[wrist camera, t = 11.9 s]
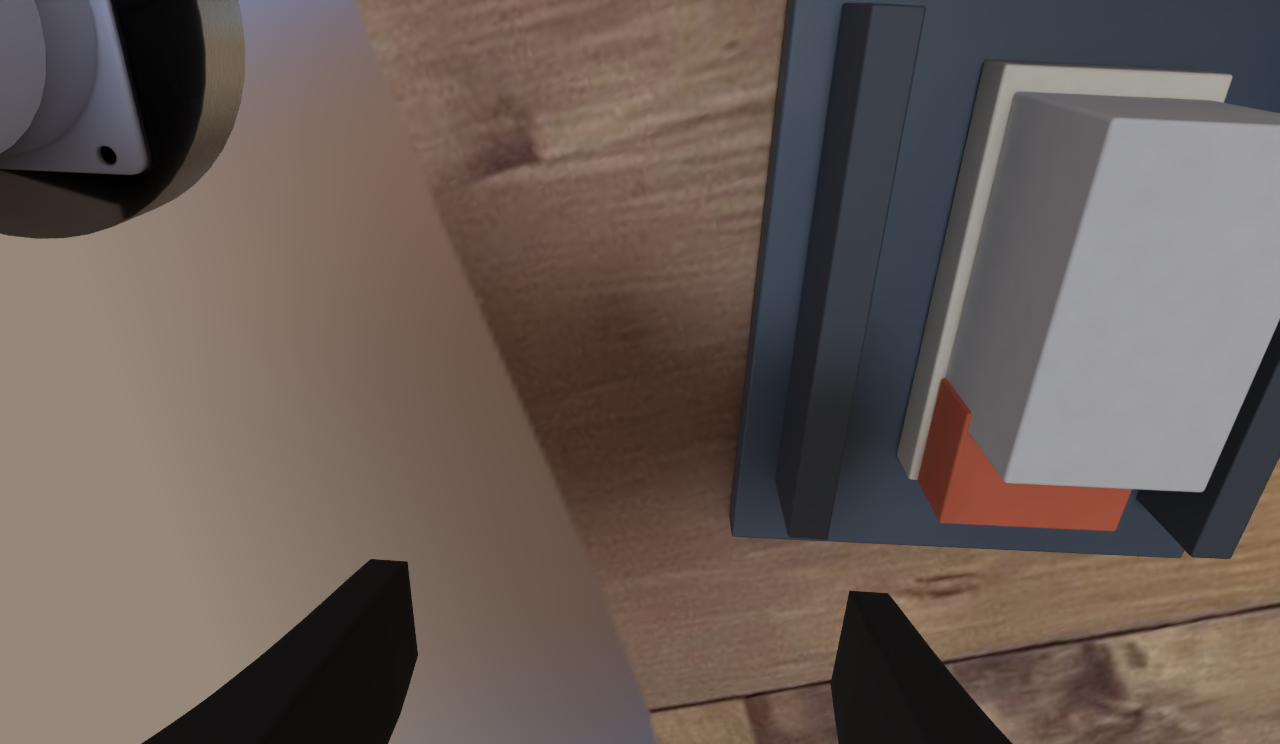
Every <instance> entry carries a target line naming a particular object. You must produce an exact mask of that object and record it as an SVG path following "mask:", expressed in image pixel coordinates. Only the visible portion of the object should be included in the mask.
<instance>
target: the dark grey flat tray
mask: <svg viewBox="0 0 1280 744" xmlns="http://www.w3.org/2000/svg"><path fill="white" fill-rule="evenodd" d="M987 60H1003V61H1025V62H1047V63H1069V64H1090V65H1112V66H1134V67H1156V68H1178V69H1198V70H1205V71H1213V72H1220V73H1227V74H1230V75H1232V81H1231V84H1230V86H1229V89H1228V92H1227V95H1226V98H1225V100H1224V103H1227V104H1233V105H1238V106H1243V107H1249V108H1254V109H1259V110H1265V111H1270V112H1275V113H1280V0H788V3H787V12H786V20H785V29H784V38H783V47H782V56H781V65H780V73H779V82H778V91H777V100H776V109H775V118H774V126H773V135H772V144H771V153H770V162H769V171H768V179H767V188H766V197H765V206H764V215H763V224H762V232H761V241H760V250H759V259H758V268H757V277H756V285H755V294H754V303H753V312H752V321H751V330H750V338H749V347H748V356H747V365H746V374H745V383H744V391H743V400H742V409H741V418H740V427H739V436H738V444H737V453H736V462H735V471H734V480H733V489H732V497H731V506H730V515H729V517H730V524H731V532H732V536H734V537H751V538H772V539H793V540H813V541H834V542H855V543H876V544H897V545H917V546H938V547H959V548H980V549H1001V550H1021V551H1042V552H1063V553H1084V554H1105V555H1125V556H1146V557H1167V558H1181V557H1182V554H1183V552H1184V550H1185V551H1186V552H1187V553H1188V554H1189V555H1190V556H1191V557H1198V558H1219V559H1230V558H1231V557H1232V555H1233V553H1234V551H1235V549H1236V546H1237V544H1238V542H1239V540H1240V538H1241V536H1242V534H1243V532H1244V530H1245V528H1246V526H1247V524H1248V522H1249V519H1250V517H1251V515H1252V513H1253V511H1254V509H1255V507H1256V505H1257V503H1258V501H1259V499H1260V497H1261V495H1262V492H1263V490H1264V488H1265V486H1266V484H1267V482H1268V480H1269V478H1270V476H1271V474H1272V472H1273V470H1274V468H1275V465H1276V463H1277V461H1278V459H1279V457H1280V320H1279V322H1278V324H1277V327H1276V329H1275V331H1274V333H1273V336H1272V338H1271V340H1270V343H1269V345H1268V347H1267V349H1266V352H1265V354H1264V356H1263V358H1262V361H1261V363H1260V365H1259V368H1258V370H1257V372H1256V374H1255V377H1254V379H1253V381H1252V383H1251V386H1250V388H1249V390H1248V393H1247V395H1246V397H1245V399H1244V402H1243V404H1242V406H1241V408H1240V411H1239V413H1238V415H1237V418H1236V420H1235V422H1234V424H1233V427H1232V429H1231V431H1230V433H1229V436H1228V438H1227V440H1226V443H1225V445H1224V447H1223V449H1222V452H1221V454H1220V456H1219V458H1218V461H1217V463H1216V465H1215V468H1214V470H1213V472H1212V474H1211V477H1210V479H1209V481H1208V483H1207V486H1206V488H1205V490H1204V491H1203V492H1182V491H1161V490H1140V489H1132V491H1131V493H1130V496H1129V498H1128V501H1127V504H1126V506H1125V509H1124V511H1123V514H1122V516H1121V519H1120V522H1119V524H1118V527H1117V529H1116V530H1115V531H1096V530H1075V529H1055V528H1034V527H1013V526H992V525H971V524H950V523H940V522H939V521H938V519H937V517H936V515H935V513H934V511H933V509H932V507H931V506H930V504H929V502H928V500H927V498H926V496H925V494H924V492H923V491H922V489H921V487H920V485H919V483H918V480H911V479H909V478H908V476H907V474H906V472H905V470H904V468H903V466H902V464H901V462H900V461H899V459H898V457H897V452H898V448H899V443H900V439H901V434H902V430H903V425H904V421H905V416H906V412H907V407H908V403H909V398H910V394H911V389H912V385H913V380H914V376H915V371H916V367H917V362H918V358H919V353H920V349H921V344H922V340H923V335H924V331H925V326H926V322H927V317H928V313H929V308H930V303H931V299H932V294H933V290H934V285H935V281H936V276H937V272H938V267H939V263H940V258H941V254H942V249H943V245H944V240H945V236H946V231H947V227H948V222H949V218H950V213H951V209H952V204H953V200H954V195H955V191H956V186H957V182H958V177H959V173H960V168H961V164H962V159H963V155H964V150H965V146H966V141H967V137H968V132H969V128H970V123H971V119H972V114H973V109H974V105H975V100H976V96H977V91H978V87H979V82H980V78H981V73H982V69H983V64H984V62H985V61H987Z"/></svg>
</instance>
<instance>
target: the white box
mask: <svg viewBox="0 0 1280 744" xmlns="http://www.w3.org/2000/svg"><path fill="white" fill-rule="evenodd" d="M1231 81H1232V75H1230V74H1227V73H1220V72H1213V71H1205V70H1198V69H1178V68H1156V67H1134V66H1112V65H1090V64H1069V63H1047V62H1025V61H1003V60H987V61H985V62H984V64H983V69H982V73H981V78H980V82H979V87H978V91H977V96H976V100H975V105H974V109H973V114H972V119H971V123H970V128H969V132H968V137H967V141H966V146H965V150H964V155H963V159H962V164H961V168H960V173H959V177H958V182H957V186H956V191H955V195H954V200H953V204H952V209H951V213H950V218H949V222H948V227H947V231H946V236H945V240H944V245H943V249H942V254H941V258H940V263H939V267H938V272H937V276H936V281H935V285H934V290H933V294H932V299H931V303H930V308H929V313H928V317H927V322H926V326H925V331H924V335H923V340H922V344H921V349H920V353H919V358H918V362H917V367H916V371H915V376H914V380H913V385H912V389H911V394H910V398H909V403H908V407H907V412H906V416H905V421H904V425H903V430H902V434H901V439H900V443H899V448H898V452H897V457H898V459H899V461H900V462H901V464H902V466H903V468H904V470H905V472H906V474H907V476H908V478H909V479H911V480H918V483H919V485H920V487H921V489H922V491H923V492H924V494H925V496H926V498H927V500H928V502H929V504H930V506H931V507H932V509H933V511H934V513H935V515H936V517H937V519H938V521H939V522H940V523H950V524H971V525H992V526H1013V527H1034V528H1055V529H1075V530H1096V531H1115V530H1116V529H1117V527H1118V524H1119V522H1120V519H1121V516H1122V514H1123V511H1124V509H1125V506H1126V504H1127V501H1128V498H1129V496H1130V493H1131V491H1132V489H1140V490H1161V491H1182V492H1203V491H1204V490H1205V488H1206V486H1207V483H1208V481H1209V479H1210V477H1211V474H1212V472H1213V470H1214V468H1215V465H1216V463H1217V461H1218V458H1219V456H1220V454H1221V452H1222V449H1223V447H1224V445H1225V443H1226V440H1227V438H1228V436H1229V433H1230V431H1231V429H1232V427H1233V424H1234V422H1235V420H1236V418H1237V415H1238V413H1239V411H1240V408H1241V406H1242V404H1243V402H1244V399H1245V397H1246V395H1247V393H1248V390H1249V388H1250V386H1251V383H1252V381H1253V379H1254V377H1255V374H1256V372H1257V370H1258V368H1259V365H1260V363H1261V361H1262V358H1263V356H1264V354H1265V352H1266V349H1267V347H1268V345H1269V343H1270V340H1271V338H1272V336H1273V333H1274V331H1275V329H1276V327H1277V324H1278V322H1279V320H1280V113H1275V112H1270V111H1265V110H1259V109H1254V108H1249V107H1243V106H1238V105H1233V104H1227V103H1224V100H1225V98H1226V95H1227V92H1228V89H1229V86H1230V84H1231Z"/></svg>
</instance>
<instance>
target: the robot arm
mask: <svg viewBox="0 0 1280 744" xmlns="http://www.w3.org/2000/svg"><path fill="white" fill-rule="evenodd" d="M106 147H110V148H111V149H112V150H113V151H114V152H115V154H116V162H113V161H112V160H111V159H110V158H109V157H108V155H107V153H106ZM151 162H152V161H151V152H150V148H149V143H148V139H147V135H146V131H145V126H144V122H143V118H142V113H141V109H140V105H139V101H138V96H137V92H136V88H135V84H134V79H133V75H132V71H131V67H130V62H129V58H128V54H127V50H126V45H125V41H124V37H123V33H122V28H121V24H120V20H119V16H118V11H117V7H116V3H115V0H0V169H13V170H35V171H56V172H78V173H99V174H121V175H134V174H139V173H142V172H144V171H146V170H147V169H148V168H149V167H150V165H151ZM417 656H418V652H417V643H416V634H415V626H414V617H413V607H412V599H411V589H410V580H409V571H408V563H407V562H405V561H390V560H375V559H371V560H369V561H368V562H367V563H366V564H365V565H364V566H362V567H361V568H360V569H359V570H358V571H357V572H355V574H353V575H352V576H351V577H350V578H349V579H348V580H347V581H345V582H344V583H343V584H342V585H341V586H340V587H339V588H338V589H337V590H336V591H334V592H333V593H332V594H331V595H330V596H329V597H328V598H327V599H326V600H324V601H323V602H322V604H320V605H319V606H318V607H317V608H316V609H314V610H313V611H312V612H311V613H310V614H309V615H308V616H307V617H306V618H304V619H303V620H302V621H301V622H300V623H299V624H298V625H296V626H295V627H294V628H293V629H292V630H291V631H289V632H288V633H287V634H286V635H285V636H284V637H282V638H281V639H280V640H279V641H278V642H277V643H275V644H274V645H273V646H272V647H271V648H270V649H268V650H267V651H266V652H265V653H264V654H262V655H261V656H260V657H259V658H258V659H256V660H255V661H254V662H253V663H251V664H250V665H249V666H247V667H246V668H245V669H244V670H242V671H241V672H240V673H239V674H237V675H236V676H235V677H234V678H233V679H231V680H230V681H229V682H227V683H226V684H225V685H224V686H222V687H221V688H220V689H219V690H217V691H216V692H215V693H213V694H212V695H211V696H209V697H208V698H207V699H205V700H204V701H203V702H201V703H200V704H199V705H197V706H196V707H194V708H193V709H192V710H190V711H189V712H187V713H186V714H185V715H183V716H182V717H180V718H179V719H177V720H176V721H175V722H173V723H171V724H170V725H169V726H167V727H166V728H164V729H163V730H161V731H160V732H158V733H157V734H155V735H154V736H152V737H151V738H149V739H148V740H146V741H145V742H143V743H142V744H388V742H389V740H390V737H391V735H392V733H393V730H394V728H395V725H396V723H397V721H398V718H399V716H400V713H401V710H402V707H403V703H404V700H405V697H406V694H407V691H408V688H409V684H410V680H411V677H412V674H413V670H414V667H415V663H416V660H417ZM831 690H832V698H833V706H834V714H835V721H836V728H837V735H838V742H839V744H1012V743H1011V742H1010V741H1009V740H1008V738H1007V737H1006V736H1005V735H1004V734H1003V733H1002V732H1001V731H1000V730H999V729H998V728H997V727H996V725H995V724H994V723H993V722H992V721H991V720H990V719H989V717H988V716H987V715H986V714H985V713H984V712H983V711H982V710H981V708H980V707H979V706H978V705H977V704H976V703H975V701H974V700H973V699H972V698H971V697H970V695H969V694H968V693H967V692H966V691H965V690H964V688H963V687H962V686H961V685H960V684H959V682H958V681H957V680H956V679H955V678H954V676H953V675H952V674H951V673H950V672H949V670H948V669H947V668H946V667H945V665H944V664H943V663H942V662H941V661H940V659H939V658H938V657H937V655H936V654H935V653H934V652H933V650H932V649H931V648H930V647H929V645H928V644H927V643H926V642H925V640H924V639H923V638H922V636H921V635H920V634H919V633H918V631H917V630H916V629H915V627H914V626H913V625H912V623H911V622H910V621H909V620H908V618H907V617H906V616H905V614H904V613H903V612H902V610H901V609H900V608H899V607H898V605H897V604H896V603H895V601H894V600H893V599H892V598H891V597H890V595H889V594H888V593H875V592H859V591H849V596H848V601H847V606H846V611H845V616H844V621H843V626H842V631H841V636H840V640H839V645H838V650H837V655H836V660H835V665H834V670H833V675H832V680H831Z"/></svg>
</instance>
